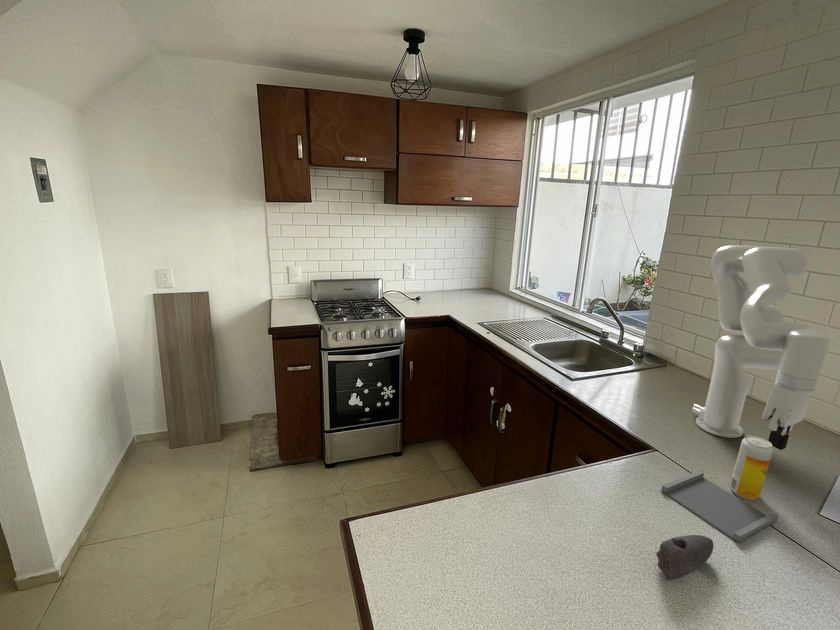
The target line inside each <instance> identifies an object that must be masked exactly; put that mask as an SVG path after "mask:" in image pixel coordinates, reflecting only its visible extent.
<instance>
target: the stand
mask: <svg viewBox="0 0 840 630" xmlns="http://www.w3.org/2000/svg"><path fill="white" fill-rule="evenodd" d="M660 492H662V493H664V494H665V495H666V496H667V497H669V498H670V499H672V500H674V501H675V502H677V504H680V505H681V506H683V507H684V508H686V510H688V511H690V512H691V513H693V514H695V515H696V516H697V517H698V518H700V519H701V520H703V521H704V522H706V523H707V524H708V525H710V526H712V527H714V528H715V529H716V530H717V531H719V532H721V533H722V534H724V535H725V536H726V537H728V538H729V539H730V540H733V542H735V543H737V544H739V543H742V542H743V541H746V540H747V539H749V538H750V537H752V536H754V535H756V534H757V533H760V532H761V531H763V530H765V529H767V528H768V527H771V526H773V525H774V524H776V523H777V521H778V519H779V515H778V514H776V513H774V512H771V513H769V514H766V513H764V512H763V511H761V510H760V509H757V508H756V507H754V506H753V505H751V504H750V503H748V502H746V501H744V500H743V499H741V498H739V497H738V496H737V495H734V494H732V493H730V492H729V491H727V490H726V489H724V488H722V487H720V486H719V485H716V484H715V483H714V482H712V481H710V480H708V479H706V478H705V472H704V471H702V470H696V471H694V472H692V473H689V474H686V475H684V476H682V477H680V478H677V479H674V480H672V481H669V482H666V483H664V484H662V485H661V490H660Z"/></svg>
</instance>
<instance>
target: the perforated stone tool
mask: <svg viewBox="0 0 840 630" xmlns="http://www.w3.org/2000/svg"><path fill="white" fill-rule="evenodd" d="M714 548H715V547H714V542H713V540H712V538H709V537H708V536H705V535H700V534H691V535H681V536H676V537H672V538H671V537H670V538H669V539H667V540H664V541H662V542H661V543H660V546H659V550H658V551H656V553H655V555H656V558H657V567H658V569H660V571H661V572H662V574H663V575H664V578H665V579H666V580H668V581H672V580H675V579H680V578H683V577H685V576H687V575H688V574H690V573H692V572H694V571H695V570H697V569H698V568H699V567H701V566H702V565H704V563H706V562H707V561H708V560H709V558H710V557H711V556H712V553H714V552H713V551H714Z"/></svg>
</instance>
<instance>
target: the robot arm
mask: <svg viewBox="0 0 840 630" xmlns="http://www.w3.org/2000/svg"><path fill="white" fill-rule="evenodd" d="M807 265H808V261H807V257H806V255H805V253H804V252H803V251H801V250H800V249H799V248H794V247H781V246H778V247H777V246H763V245H762V246H760V245H743V244H742V245H741V244H740V245H739V244H733V245H732V244H731V245H724V246H721V247H720V248H717V249H716V250H715V252H714V253H713V254H712V258H711V263H710V269H711V276H712V278H713V279H712V280H713V282H714V284H715V287H716V292H717V305H718V306H717V309H718V320H719V325H720V327H721V329H723V330H725V331H727V332H731V333H743V335H741V334H728V335H727V334H726V335H723V336H721V337H719V338H718V339H717V340H716V342H715V346H714V363H713V364H714V365H713V370H712V375H711V380H710V382H709V383H710V384H709V388H708V392H707V397H706V401H705V404H704V405H705V406H704V407H703V406H702V405H699V404H697V403H694V404H693V405H692V409H691V412H692V413H693V412H694V413H696V414H698V416H697V417H696V418H695V423H696V425H697V427H699V428H701V429H702V430H703V431H705V432H706V433H709V434H712V435H715V436H719V437H722V438H727V439H736V438H737V439H738V438H740V437H742V435H743V433H744V430H743V428H742V427H741V426H740V425H739V424H740V420H741V416H742V412H743V409H744V406H745V405H744V404H745V401H746V399H747V394H748V392H749V391H748V389H749V385H750V378H749V376H748V375H747V374H746V372H745V370H744V368H753V369H762V370H764V369H765V370H776V375H775V378H774V385H773V388H772V389H771V391H770V393H769V396H768V399H767V402H766V404H765V407H764V410H763V413H762V417H761V419H762V420H764V421H768V420H770V421H769V425H768V427H767V428H768V429H769V430H770V434H769V437H768V439H767V440H768V441H769V442H770V443H771V444H772V447H773V448H774V449H775V448H776V449H777V450H781V451H782V450H785V449H786V448H787V444H788V440H789V438H790V434H791V433H792V430H793V428H794V425H796V424H797V423H800V422H802V421H803V420H804V418H805V416H806V413H807V410H808V407H809V403H810V399H811V398H810V397H811V395H812V393H815V391H816V388H817V385H818V381H819V378H820V374H821V372H822V369H823V365H824V361H825V360H826V356H827V352H828V350H829V347H830V339H829V337H828V336H827V335H825V334H823V333H821V332H818V331H817V330H815V329H814V327H812V326H811V325H810V324H807V323H802V322H792V321H791V322H790V321H784V315H783V313H782V312H781V310H780V309H779V308H778V307H777V306H775V305H774V304H776V303H779V302H781V301H784V300H785V299H786V298H787V297H789V296H790V295H791V293H792V290H793V289H792V286H791V284H790V283H791V282H790V281H789V279H794V278H795V279H796V278H798V277H800V276H801V275H803V274H804V273H805V272H806V269H807ZM739 273H744V275H745V278H746V281H745V280H744V278H743V277H742V276H741V275H739Z"/></svg>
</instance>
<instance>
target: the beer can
mask: <svg viewBox="0 0 840 630" xmlns="http://www.w3.org/2000/svg"><path fill="white" fill-rule="evenodd" d="M773 454H774V447H773V446H772V444H771V443H770V442H769V441H768V439H766V438H763V437H761V436H757V435H751V434H750V435H746V436H744V438H743V439H741V443H740V447H739V450H738V454H737V458H736V462H735V464H734V465H735V466H734V469H733V473H732V477H731V480H730V484H729V487H730V489H731V491H732V493H734V494H735V496H737V497H738V498H739V497H740V499H741V498H742V499H744V500H748V501H754V500H756V499H759V498H760V497H761V493H762V490H763V486H764V483H765V480H766V476H767V473H768V469H769V466H770V463H771V459H772V455H773Z"/></svg>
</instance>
